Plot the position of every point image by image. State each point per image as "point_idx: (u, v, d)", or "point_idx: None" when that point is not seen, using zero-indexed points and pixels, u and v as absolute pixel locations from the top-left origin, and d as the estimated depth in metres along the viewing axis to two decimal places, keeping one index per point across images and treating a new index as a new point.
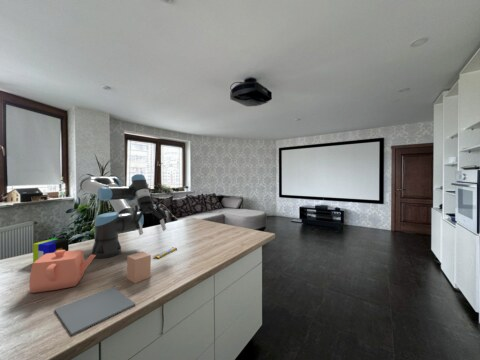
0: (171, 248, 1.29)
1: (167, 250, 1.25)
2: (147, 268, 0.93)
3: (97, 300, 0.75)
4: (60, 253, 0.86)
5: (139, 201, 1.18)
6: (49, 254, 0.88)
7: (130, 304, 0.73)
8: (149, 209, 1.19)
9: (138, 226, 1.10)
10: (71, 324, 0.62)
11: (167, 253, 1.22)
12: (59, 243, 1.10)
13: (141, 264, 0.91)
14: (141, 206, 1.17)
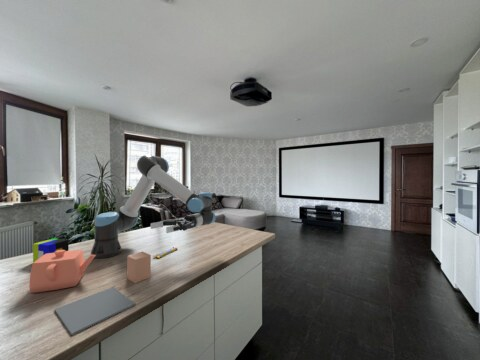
0: (171, 248, 1.29)
1: (167, 250, 1.25)
2: (147, 268, 0.93)
3: (97, 300, 0.75)
4: (60, 253, 0.86)
5: (193, 224, 1.14)
6: (49, 254, 0.88)
7: (130, 304, 0.73)
8: (180, 225, 1.12)
9: (175, 230, 1.00)
10: (71, 324, 0.62)
11: (167, 253, 1.22)
12: (59, 243, 1.10)
13: (141, 264, 0.91)
14: None
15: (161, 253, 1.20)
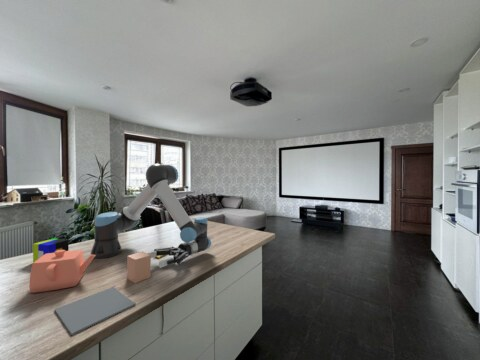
0: None
1: None
2: (147, 268, 0.93)
3: (97, 300, 0.75)
4: (60, 253, 0.86)
5: (188, 253, 1.11)
6: (49, 254, 0.88)
7: (130, 304, 0.73)
8: None
9: None
10: (71, 324, 0.62)
11: None
12: (59, 243, 1.10)
13: (141, 264, 0.91)
14: None
15: None
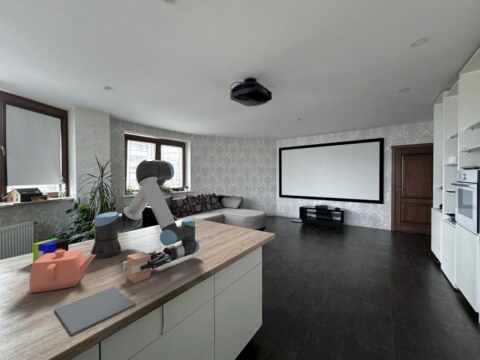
0: None
1: None
2: (147, 268, 0.93)
3: (97, 300, 0.75)
4: (60, 253, 0.86)
5: (173, 257, 1.04)
6: (49, 254, 0.88)
7: (130, 304, 0.73)
8: None
9: None
10: (71, 324, 0.62)
11: None
12: (59, 243, 1.10)
13: None
14: None
15: None
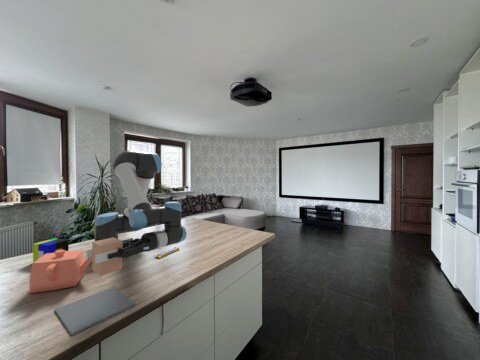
0: None
1: (169, 250, 1.25)
2: (117, 257, 0.74)
3: (97, 300, 0.75)
4: (60, 253, 0.86)
5: (153, 245, 0.85)
6: (49, 254, 0.88)
7: (130, 304, 0.73)
8: None
9: None
10: (71, 324, 0.62)
11: (169, 253, 1.22)
12: (59, 243, 1.10)
13: None
14: None
15: (162, 253, 1.20)
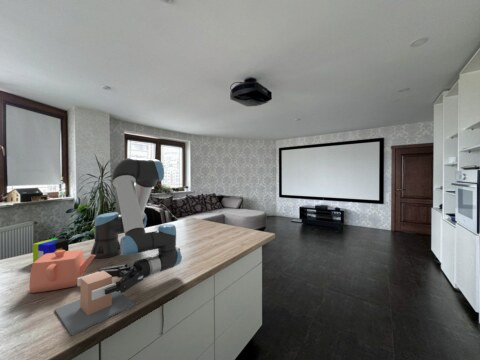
0: None
1: None
2: None
3: None
4: (60, 253, 0.86)
5: (145, 273, 0.82)
6: (49, 254, 0.88)
7: (130, 304, 0.73)
8: None
9: None
10: (71, 324, 0.62)
11: None
12: (59, 243, 1.10)
13: None
14: None
15: None
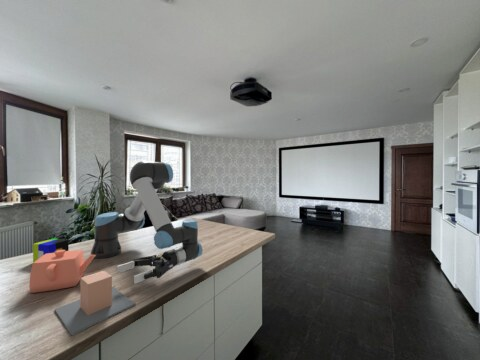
0: None
1: None
2: (106, 294, 0.71)
3: None
4: (60, 253, 0.86)
5: (173, 263, 0.92)
6: (49, 254, 0.88)
7: (130, 304, 0.73)
8: None
9: None
10: (71, 324, 0.62)
11: None
12: (59, 243, 1.10)
13: (97, 290, 0.69)
14: None
15: None
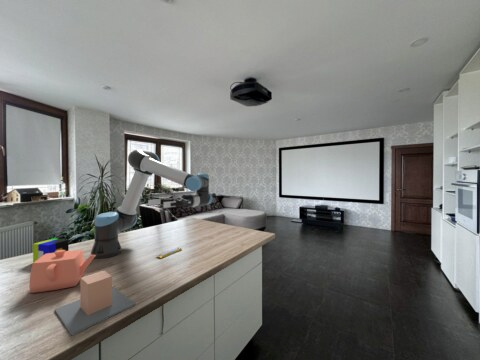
0: None
1: None
2: (106, 294, 0.71)
3: None
4: (60, 253, 0.86)
5: (190, 202, 1.16)
6: (49, 254, 0.88)
7: (130, 304, 0.73)
8: None
9: (172, 205, 1.02)
10: (71, 324, 0.62)
11: (170, 253, 1.22)
12: (59, 243, 1.10)
13: (97, 290, 0.69)
14: None
15: (164, 253, 1.19)
